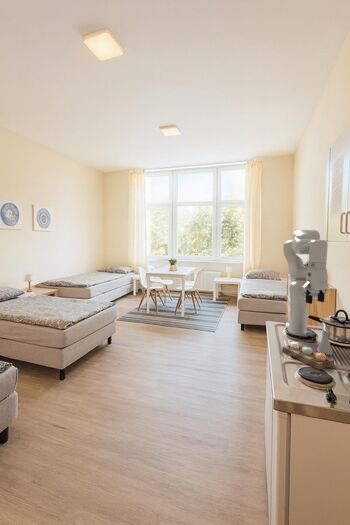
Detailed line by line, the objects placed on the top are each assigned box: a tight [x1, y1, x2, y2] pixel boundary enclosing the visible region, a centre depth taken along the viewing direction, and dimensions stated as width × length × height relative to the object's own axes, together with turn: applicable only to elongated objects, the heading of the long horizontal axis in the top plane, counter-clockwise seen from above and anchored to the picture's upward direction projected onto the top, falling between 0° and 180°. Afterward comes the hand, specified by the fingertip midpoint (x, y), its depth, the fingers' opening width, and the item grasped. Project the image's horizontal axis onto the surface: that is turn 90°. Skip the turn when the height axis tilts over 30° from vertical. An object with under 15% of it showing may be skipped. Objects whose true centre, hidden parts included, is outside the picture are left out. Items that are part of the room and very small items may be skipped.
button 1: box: [289, 341, 300, 350], centre depth 131 cm, size 4×4×3 cm
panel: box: [281, 344, 335, 370], centre depth 125 cm, size 20×10×3 cm, turn 25°
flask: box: [317, 331, 333, 356], centre depth 131 cm, size 7×7×10 cm
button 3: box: [315, 352, 327, 362], centre depth 118 cm, size 4×4×3 cm
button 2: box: [302, 346, 313, 356], centre depth 125 cm, size 4×4×3 cm
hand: (314, 302), depth 127 cm, fingers open, 7 cm apart
